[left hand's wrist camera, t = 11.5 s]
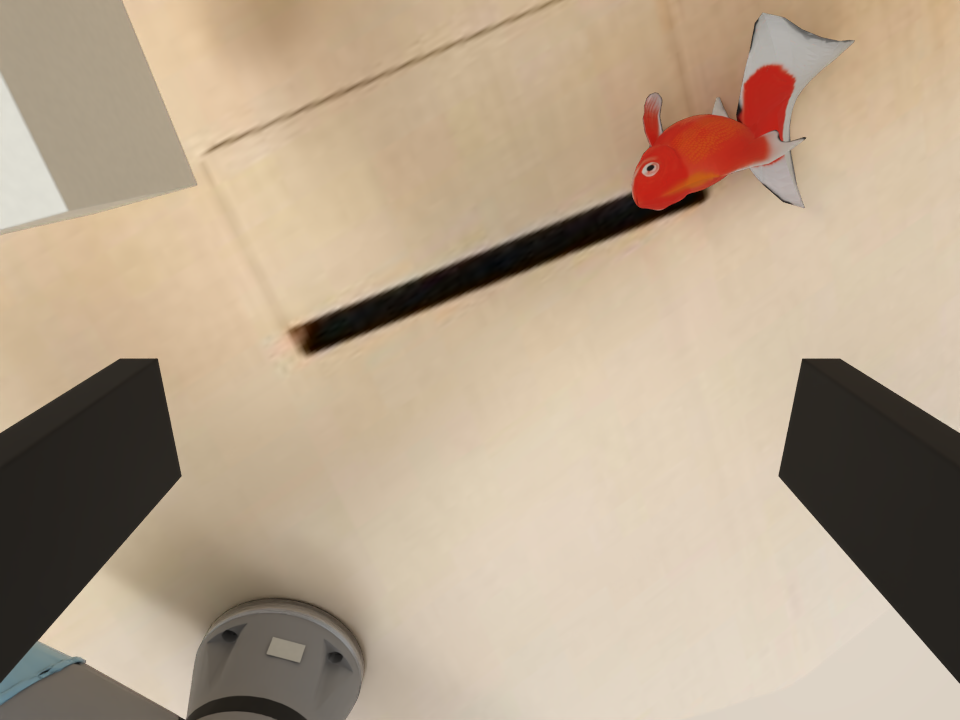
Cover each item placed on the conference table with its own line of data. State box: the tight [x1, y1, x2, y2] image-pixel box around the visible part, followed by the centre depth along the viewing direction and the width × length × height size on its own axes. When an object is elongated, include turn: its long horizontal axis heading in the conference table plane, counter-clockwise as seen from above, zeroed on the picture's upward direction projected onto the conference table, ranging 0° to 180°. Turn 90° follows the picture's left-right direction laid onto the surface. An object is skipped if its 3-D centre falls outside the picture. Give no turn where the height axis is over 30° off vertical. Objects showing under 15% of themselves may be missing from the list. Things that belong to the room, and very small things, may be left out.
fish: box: [632, 13, 854, 210], centre depth 36 cm, size 11×16×10 cm
